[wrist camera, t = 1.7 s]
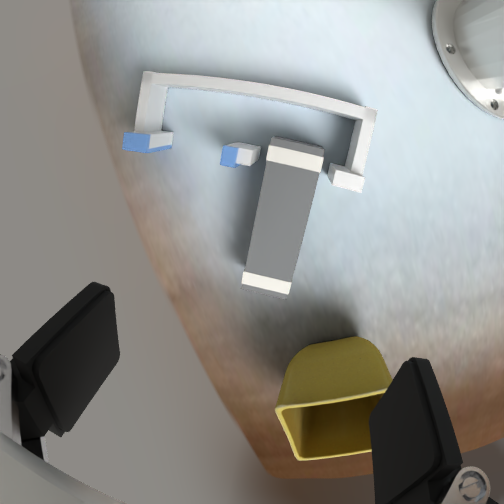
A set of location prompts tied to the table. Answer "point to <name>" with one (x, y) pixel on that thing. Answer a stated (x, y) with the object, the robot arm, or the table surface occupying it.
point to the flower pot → (332, 397)
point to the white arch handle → (235, 154)
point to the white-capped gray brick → (281, 215)
